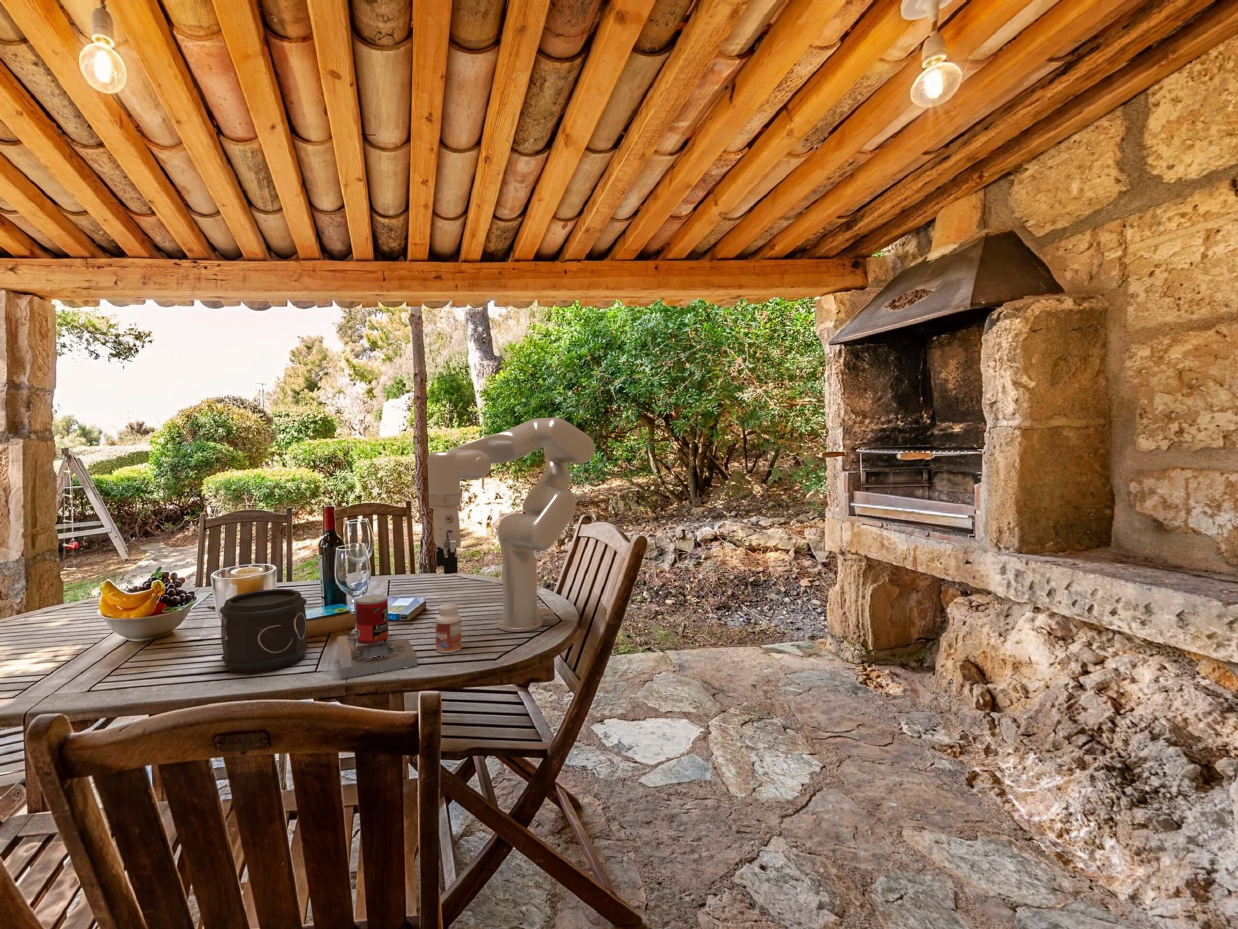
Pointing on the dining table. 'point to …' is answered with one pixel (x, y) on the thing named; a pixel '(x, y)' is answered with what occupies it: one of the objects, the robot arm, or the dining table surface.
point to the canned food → (372, 618)
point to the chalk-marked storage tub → (263, 630)
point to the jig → (360, 663)
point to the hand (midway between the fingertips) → (446, 569)
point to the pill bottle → (448, 629)
